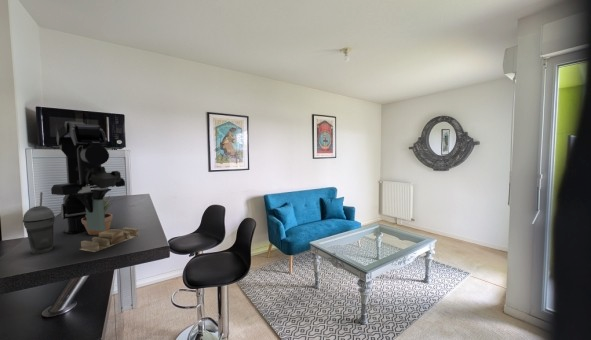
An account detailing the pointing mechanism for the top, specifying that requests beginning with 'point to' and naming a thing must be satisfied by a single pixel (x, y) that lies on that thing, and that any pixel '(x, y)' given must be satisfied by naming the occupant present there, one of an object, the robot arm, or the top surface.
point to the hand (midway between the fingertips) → (94, 211)
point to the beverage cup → (39, 228)
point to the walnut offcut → (117, 239)
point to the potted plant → (107, 217)
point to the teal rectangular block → (96, 216)
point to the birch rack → (106, 241)
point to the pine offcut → (111, 234)
